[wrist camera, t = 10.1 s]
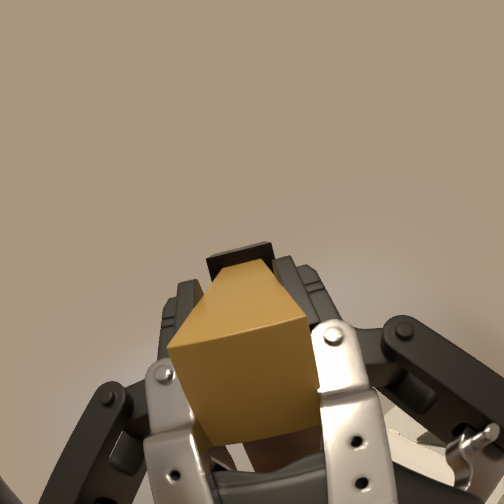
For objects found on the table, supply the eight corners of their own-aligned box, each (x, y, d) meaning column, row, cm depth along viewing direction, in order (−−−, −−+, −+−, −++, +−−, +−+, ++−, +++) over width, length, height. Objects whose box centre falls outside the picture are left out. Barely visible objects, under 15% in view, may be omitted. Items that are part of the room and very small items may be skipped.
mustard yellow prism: (172, 450, 5) (110, 310, 5) (224, 296, 25) (213, 254, 25) (365, 409, 5) (343, 254, 5) (276, 282, 25) (265, 241, 25)
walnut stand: (297, 559, 17) (206, 380, 15) (287, 503, 30) (222, 318, 28) (346, 547, 17) (323, 352, 15) (328, 493, 30) (288, 301, 28)
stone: (476, 444, 24) (482, 426, 24) (473, 452, 23) (480, 435, 22) (419, 437, 34) (421, 420, 34) (414, 445, 33) (417, 428, 32)
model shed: (489, 482, 14) (502, 458, 14) (429, 552, 9) (441, 538, 9) (389, 438, 38) (390, 415, 37) (329, 482, 32) (325, 461, 32)
